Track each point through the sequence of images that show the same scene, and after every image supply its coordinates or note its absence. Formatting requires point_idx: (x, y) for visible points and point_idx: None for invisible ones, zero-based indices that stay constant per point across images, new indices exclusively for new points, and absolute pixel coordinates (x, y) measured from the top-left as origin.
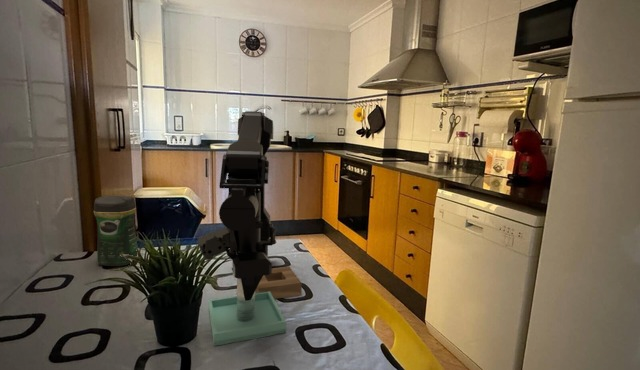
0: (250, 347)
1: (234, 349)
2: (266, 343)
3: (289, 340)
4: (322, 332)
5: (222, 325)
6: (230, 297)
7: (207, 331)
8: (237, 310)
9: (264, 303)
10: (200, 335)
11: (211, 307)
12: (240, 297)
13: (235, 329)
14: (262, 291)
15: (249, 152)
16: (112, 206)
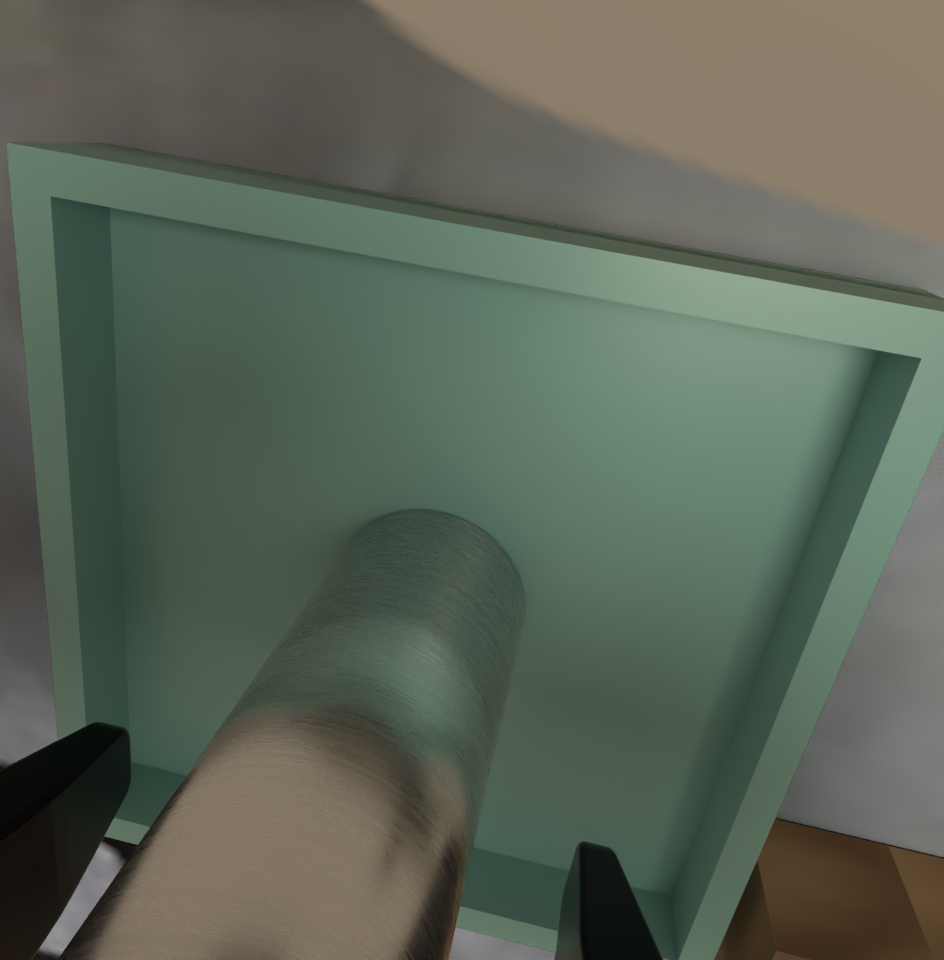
0: (4, 450)
1: (6, 318)
2: (28, 577)
3: (25, 722)
4: (61, 917)
5: (362, 328)
6: (844, 615)
7: (407, 146)
8: (385, 563)
9: (597, 835)
10: (357, 43)
11: (704, 299)
12: (244, 705)
13: (53, 408)
14: (750, 940)
15: None
16: None
